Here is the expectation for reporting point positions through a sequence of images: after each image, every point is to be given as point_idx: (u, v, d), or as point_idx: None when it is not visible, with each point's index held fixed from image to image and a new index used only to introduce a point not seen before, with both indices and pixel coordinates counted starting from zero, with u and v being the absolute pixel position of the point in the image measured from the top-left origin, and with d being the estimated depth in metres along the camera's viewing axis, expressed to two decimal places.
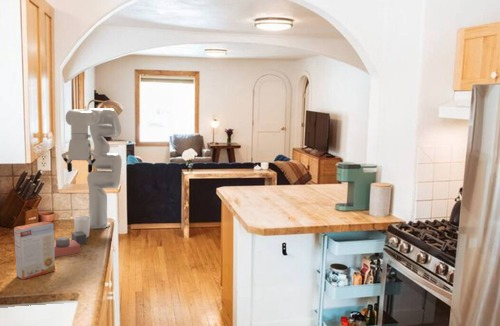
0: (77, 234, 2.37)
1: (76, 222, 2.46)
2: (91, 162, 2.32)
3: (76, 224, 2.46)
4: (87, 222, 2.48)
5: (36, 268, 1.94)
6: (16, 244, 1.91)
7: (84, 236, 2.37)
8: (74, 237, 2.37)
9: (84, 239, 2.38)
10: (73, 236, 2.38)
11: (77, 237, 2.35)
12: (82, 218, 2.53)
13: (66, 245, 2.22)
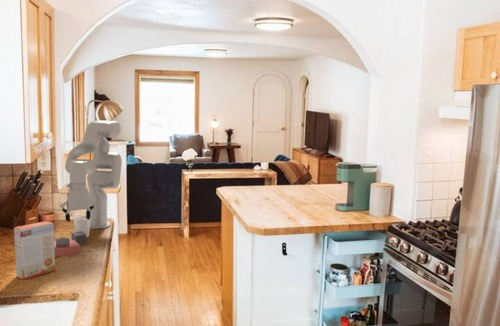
0: (77, 234, 2.37)
1: (76, 222, 2.46)
2: None
3: (76, 224, 2.46)
4: (87, 222, 2.48)
5: (36, 268, 1.94)
6: (16, 244, 1.91)
7: (84, 236, 2.37)
8: (74, 237, 2.37)
9: (84, 239, 2.38)
10: (73, 236, 2.38)
11: (77, 237, 2.35)
12: (82, 218, 2.53)
13: (66, 245, 2.22)
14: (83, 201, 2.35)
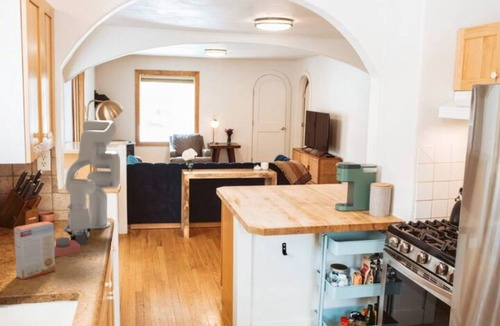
0: (77, 234, 2.37)
1: None
2: None
3: None
4: None
5: (36, 268, 1.94)
6: (16, 244, 1.91)
7: (84, 236, 2.37)
8: None
9: (84, 239, 2.38)
10: None
11: (77, 237, 2.35)
12: None
13: (66, 245, 2.22)
14: (84, 222, 2.37)
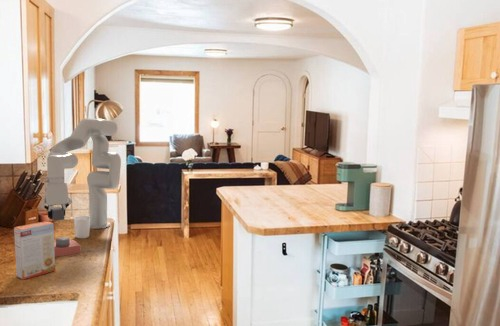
0: (55, 209, 2.28)
1: (76, 222, 2.46)
2: None
3: (76, 224, 2.46)
4: (87, 222, 2.48)
5: (36, 268, 1.94)
6: (16, 244, 1.91)
7: (62, 211, 2.28)
8: None
9: (62, 214, 2.28)
10: None
11: (54, 212, 2.26)
12: (82, 218, 2.53)
13: (66, 245, 2.22)
14: (61, 196, 2.28)
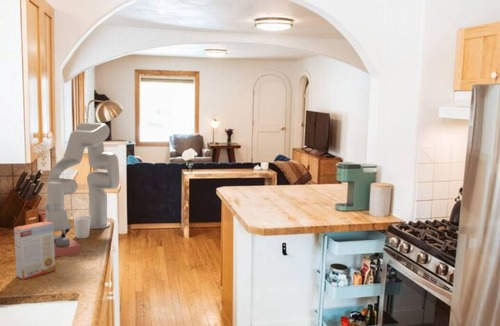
0: (54, 238, 2.30)
1: (76, 222, 2.46)
2: None
3: (76, 224, 2.46)
4: (87, 222, 2.48)
5: (36, 268, 1.94)
6: (16, 244, 1.91)
7: None
8: None
9: None
10: None
11: (54, 241, 2.28)
12: (82, 218, 2.53)
13: (66, 245, 2.22)
14: (61, 222, 2.29)
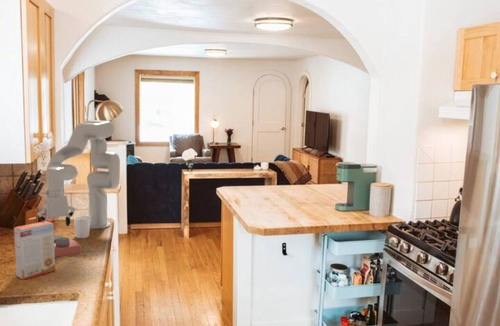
0: (54, 238, 2.30)
1: (76, 222, 2.46)
2: None
3: (76, 224, 2.46)
4: (87, 222, 2.48)
5: (36, 268, 1.94)
6: (16, 244, 1.91)
7: None
8: None
9: None
10: None
11: (54, 241, 2.28)
12: (82, 218, 2.53)
13: (66, 245, 2.22)
14: (62, 208, 2.29)
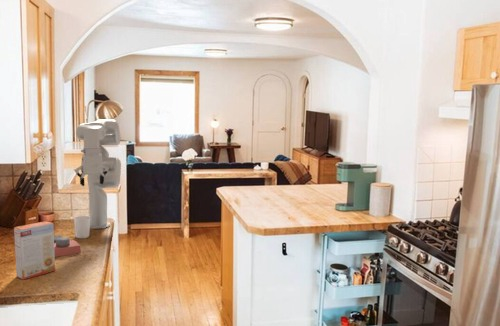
0: (54, 238, 2.30)
1: (76, 222, 2.46)
2: (79, 175, 2.42)
3: (76, 224, 2.46)
4: (87, 222, 2.48)
5: (36, 268, 1.94)
6: (16, 244, 1.91)
7: None
8: None
9: None
10: None
11: (54, 241, 2.28)
12: (82, 218, 2.53)
13: (66, 245, 2.22)
14: (97, 166, 2.43)
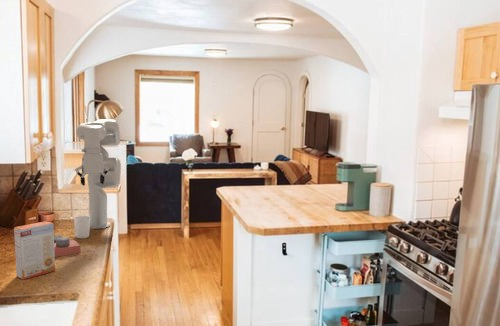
0: (54, 238, 2.30)
1: (76, 222, 2.46)
2: None
3: (76, 224, 2.46)
4: (87, 222, 2.48)
5: (36, 268, 1.94)
6: (16, 244, 1.91)
7: None
8: None
9: None
10: None
11: (54, 241, 2.28)
12: (82, 218, 2.53)
13: (66, 245, 2.22)
14: (97, 165, 2.43)
